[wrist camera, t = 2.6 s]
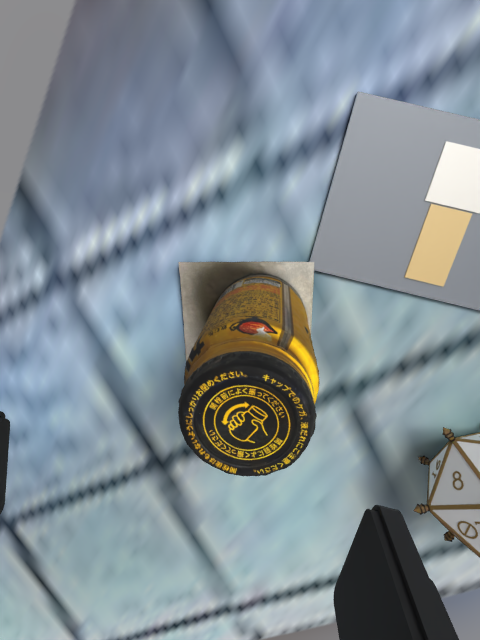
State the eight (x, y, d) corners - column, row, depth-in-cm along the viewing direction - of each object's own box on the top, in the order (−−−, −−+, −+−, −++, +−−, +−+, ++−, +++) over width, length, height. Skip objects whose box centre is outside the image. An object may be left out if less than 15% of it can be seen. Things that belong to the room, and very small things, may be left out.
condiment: (309, 367, 26) (331, 504, 15) (186, 364, 27) (121, 491, 16) (314, 261, 24) (345, 328, 13) (179, 261, 25) (97, 324, 14)
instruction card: (357, 93, 22) (358, 90, 21) (608, 151, 21) (614, 150, 21) (307, 267, 25) (307, 268, 24) (527, 321, 24) (531, 323, 24)
